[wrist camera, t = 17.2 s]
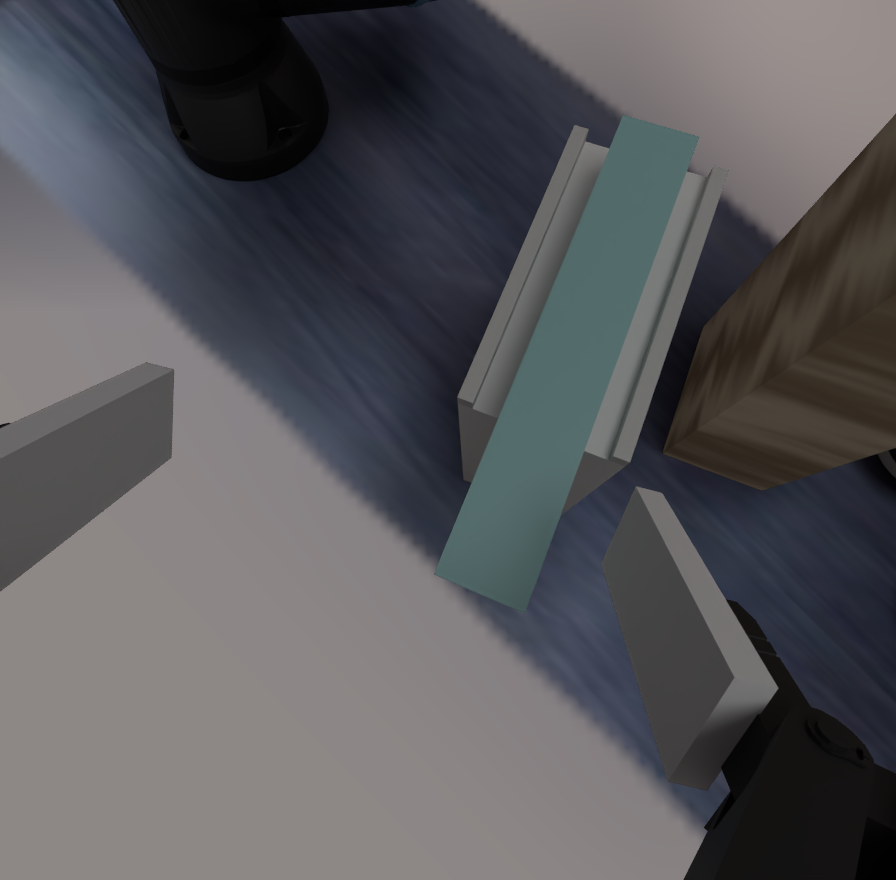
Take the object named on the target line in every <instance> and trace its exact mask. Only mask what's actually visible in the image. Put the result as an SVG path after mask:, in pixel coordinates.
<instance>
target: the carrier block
mask: <svg viewBox="0 0 896 880" xmlns="http://www.w3.org/2000/svg"><path fill="white" fill-rule="evenodd" d="M588 130H589V129H586V128H583V127H579V126H576V125H575V126H574V128H573V130H572V133H571V135H570V137H569V140H568V142H567V144H566V147H565V149H564V151H563V154H562V156H561V158H560V160H559V163H558V165H557V167H556V170H555V172H554V174H553V177H552V179H551V181H550V184H549V186H548V188H547V191H546V193H545V195H544V198H543V200H542V202H541V204H540V207H539V209H538V211H537V214H536V216H535V218H534V221H533V223H532V225H531V228H530V230H529V232H528V235H527V237H526V239H525V242H524V244H523V246H522V249H521V251H520V253H519V255H518V258H517V260H516V262H515V265H514V267H513V269H512V272H511V274H510V276H509V279H508V281H507V283H506V286H505V288H504V290H503V293H502V295H501V297H500V299H499V302H498V304H497V306H496V309H495V311H494V313H493V316H492V318H491V320H490V323H489V325H488V327H487V330H486V332H485V334H484V337H483V339H482V341H481V344H480V346H479V348H478V350H477V353H476V355H475V357H474V360H473V362H472V364H471V367H470V369H469V371H468V374H467V376H466V378H465V381H464V383H463V385H462V388H461V390H460V392H459V394H458V397H457V400H458V413H459V427H460V440H461V454H462V467H463V480H465V481H467V482H470V483H472V481H473V478H474V476H475V474H476V471H477V469H478V466H479V464H480V462H481V459H482V457H483V454H484V452H485V449H486V447H487V445H488V442H489V440H490V437H491V435H492V432H493V430H494V428H495V425H496V423H497V420H498V418H499V415H500V413H501V411H502V408H503V406H504V403H505V401H506V399H507V396H508V394H509V391H510V389H511V386H512V384H513V382H514V379H515V377H516V374H517V372H518V369H519V367H520V365H521V362H522V360H523V357H524V355H525V352H526V350H527V348H528V345H529V343H530V340H531V338H532V336H533V333H534V331H535V328H536V326H537V323H538V321H539V319H540V316H541V314H542V311H543V309H544V306H545V304H546V302H547V299H548V297H549V294H550V292H551V289H552V287H553V285H554V282H555V280H556V277H557V275H558V272H559V270H560V268H561V265H562V263H563V260H564V258H565V256H566V253H567V251H568V248H569V246H570V243H571V241H572V239H573V236H574V234H575V231H576V229H577V226H578V224H579V222H580V219H581V217H582V214H583V212H584V209H585V207H586V205H587V202H588V200H589V197H590V195H591V193H592V190H593V188H594V185H595V183H596V180H597V178H598V176H599V173H600V171H601V168H602V166H603V163H604V161H605V159H606V156H607V154H608V151H609V148H605V147H602V146H599V145H595V144H592V143H588V142H585V141H586V138H587V134H588ZM728 171H729V170H726V169H723V168H720V167H716V166H714V167H713V168H712V170H711V172H710V173H709V175H708V177H703V176H700V175H697V174H693V173H690V172H686V175H685V177H684V180H683V183H682V185H681V188H680V191H679V194H678V196H677V199H676V202H675V205H674V207H673V210H672V213H671V215H670V218H669V221H668V224H667V226H666V229H665V232H664V235H663V237H662V240H661V243H660V246H659V248H658V251H657V254H656V256H655V259H654V262H653V265H652V267H651V270H650V273H649V276H648V278H647V281H646V284H645V286H644V289H643V292H642V295H641V297H640V300H639V303H638V306H637V308H636V311H635V314H634V317H633V319H632V322H631V325H630V327H629V330H628V333H627V336H626V338H625V341H624V344H623V347H622V349H621V352H620V355H619V357H618V360H617V363H616V366H615V368H614V371H613V374H612V377H611V379H610V382H609V385H608V387H607V390H606V393H605V396H604V398H603V401H602V404H601V407H600V409H599V412H598V415H597V418H596V420H595V423H594V426H593V428H592V431H591V434H590V437H589V439H588V442H587V445H586V448H585V450H584V453H583V456H582V458H581V461H580V464H579V467H578V469H577V472H576V475H575V478H574V480H573V483H572V486H571V488H570V491H569V494H568V497H567V499H566V502H565V505H564V508H563V510H562V513H561V515H562V514H563V513H565V512H566V511H567V510H568V509H570V508H571V507H572V506H574V505H575V504H576V503H578V502H579V501H580V500H582V499H583V498H584V497H585V496H587V495H588V494H589V493H591V492H592V491H593V490H595V489H596V488H597V487H599V486H600V485H601V484H602V483H604V482H605V481H606V480H608V479H609V478H610V477H612V476H613V475H614V474H616V473H617V472H618V471H619V470H621V469H622V468H623V467H625V466H626V465H627V464H629V463H630V461H631V458H632V455H633V452H634V449H635V446H636V443H637V440H638V437H639V434H640V431H641V429H642V426H643V423H644V420H645V417H646V414H647V411H648V408H649V405H650V402H651V399H652V396H653V393H654V390H655V387H656V384H657V381H658V378H659V375H660V372H661V369H662V366H663V363H664V361H665V358H666V355H667V352H668V349H669V346H670V343H671V340H672V337H673V334H674V331H675V328H676V325H677V322H678V319H679V316H680V313H681V310H682V307H683V304H684V301H685V298H686V296H687V293H688V290H689V287H690V284H691V281H692V278H693V275H694V272H695V269H696V266H697V263H698V260H699V257H700V254H701V251H702V248H703V245H704V242H705V239H706V236H707V233H708V230H709V228H710V225H711V222H712V219H713V216H714V213H715V210H716V207H717V204H718V201H719V198H720V195H721V192H722V189H723V186H724V183H725V180H726V177H727V174H728Z"/></svg>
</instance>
